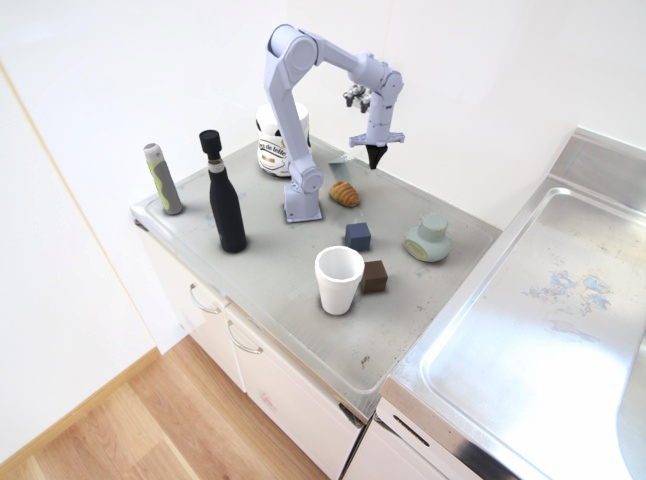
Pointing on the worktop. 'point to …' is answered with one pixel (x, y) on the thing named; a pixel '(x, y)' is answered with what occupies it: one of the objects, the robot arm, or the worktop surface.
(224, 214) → the wine bottle
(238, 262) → the worktop surface
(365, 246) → the slate block
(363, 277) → the walnut block
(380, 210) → the worktop surface
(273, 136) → the milk container
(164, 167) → the spray bottle
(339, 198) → the pastry
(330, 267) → the foam cup
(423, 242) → the air freshener
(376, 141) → the robot arm
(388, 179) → the worktop surface
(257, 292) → the worktop surface
